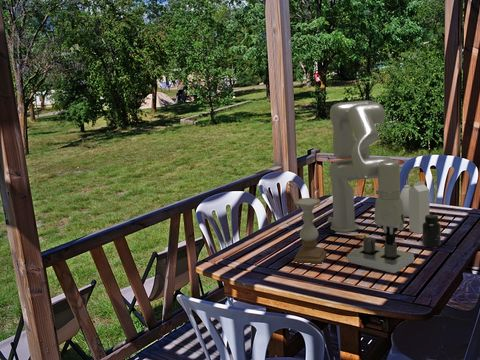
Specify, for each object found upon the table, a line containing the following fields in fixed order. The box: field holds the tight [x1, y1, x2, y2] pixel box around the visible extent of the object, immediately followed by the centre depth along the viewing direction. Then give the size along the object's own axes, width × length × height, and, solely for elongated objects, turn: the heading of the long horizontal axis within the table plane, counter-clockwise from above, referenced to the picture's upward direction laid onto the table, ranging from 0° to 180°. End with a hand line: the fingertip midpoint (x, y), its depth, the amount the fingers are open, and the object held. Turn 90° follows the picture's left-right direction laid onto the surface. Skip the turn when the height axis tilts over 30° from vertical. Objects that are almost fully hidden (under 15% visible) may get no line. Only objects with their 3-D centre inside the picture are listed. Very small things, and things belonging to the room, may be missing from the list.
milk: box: [408, 180, 430, 235], centre depth 226 cm, size 6×6×22 cm
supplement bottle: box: [422, 214, 442, 248], centre depth 209 cm, size 7×7×12 cm
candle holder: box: [293, 197, 328, 265], centre depth 203 cm, size 11×11×24 cm
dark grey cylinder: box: [383, 241, 398, 260], centre depth 193 cm, size 4×4×8 cm
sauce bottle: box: [400, 180, 411, 218], centre depth 248 cm, size 8×8×18 cm
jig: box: [346, 237, 415, 274], centre depth 197 cm, size 20×14×8 cm
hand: (390, 243), depth 192 cm, fingers closed
